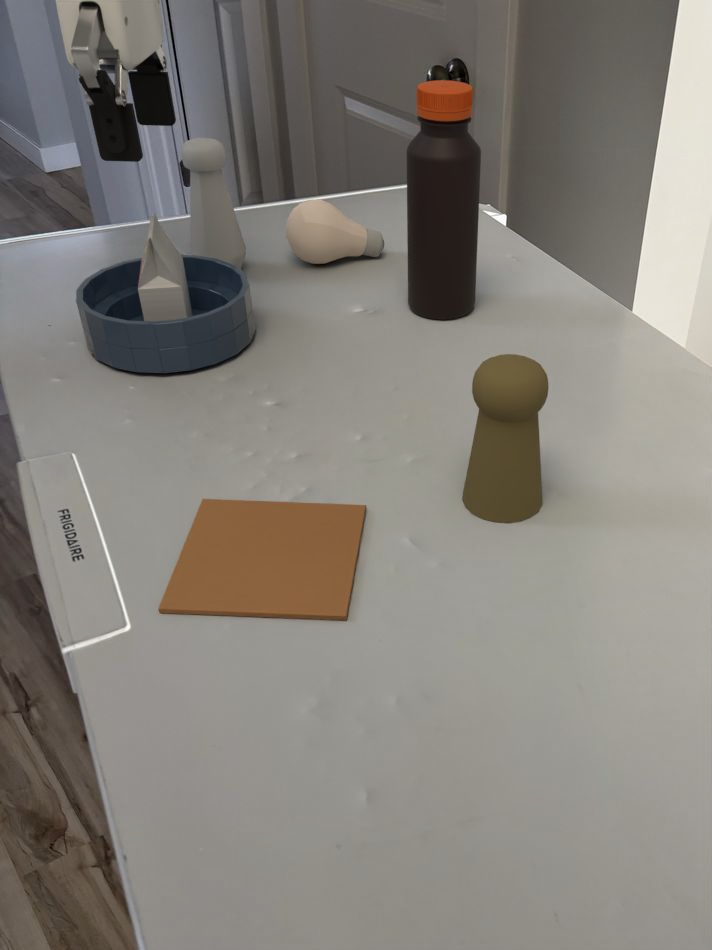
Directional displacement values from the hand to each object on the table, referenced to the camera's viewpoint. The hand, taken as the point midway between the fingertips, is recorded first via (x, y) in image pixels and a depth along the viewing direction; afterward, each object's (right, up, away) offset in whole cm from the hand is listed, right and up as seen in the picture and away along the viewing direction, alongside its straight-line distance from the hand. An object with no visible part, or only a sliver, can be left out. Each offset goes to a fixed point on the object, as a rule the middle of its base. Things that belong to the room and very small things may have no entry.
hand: (140, 141), depth 76 cm
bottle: (+24, -8, +18) cm, 32 cm away
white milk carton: (-1, -13, +12) cm, 17 cm away
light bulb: (+13, 0, +27) cm, 30 cm away
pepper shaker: (+29, -30, -6) cm, 42 cm away
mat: (+13, -35, -12) cm, 39 cm away
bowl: (-1, -13, +12) cm, 17 cm away
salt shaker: (+1, -2, +24) cm, 24 cm away
